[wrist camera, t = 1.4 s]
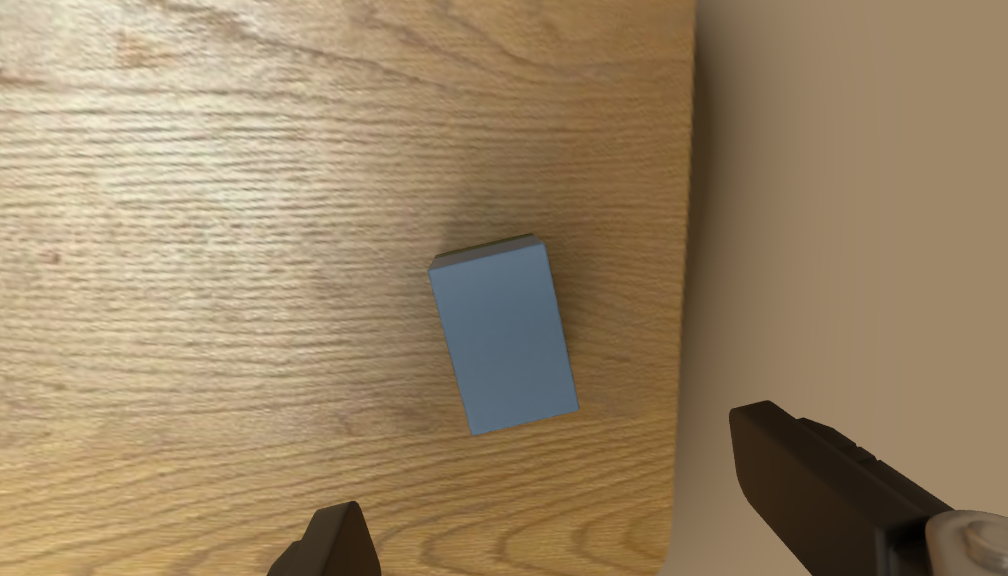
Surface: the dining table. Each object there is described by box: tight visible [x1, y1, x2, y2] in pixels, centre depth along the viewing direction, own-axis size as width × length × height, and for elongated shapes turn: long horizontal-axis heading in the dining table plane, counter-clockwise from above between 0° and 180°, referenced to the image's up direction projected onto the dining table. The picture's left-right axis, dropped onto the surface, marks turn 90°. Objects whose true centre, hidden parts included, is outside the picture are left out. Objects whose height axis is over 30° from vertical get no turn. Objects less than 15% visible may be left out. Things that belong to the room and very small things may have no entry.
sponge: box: [428, 233, 579, 436], centre depth 20 cm, size 7×4×4 cm, turn 13°
